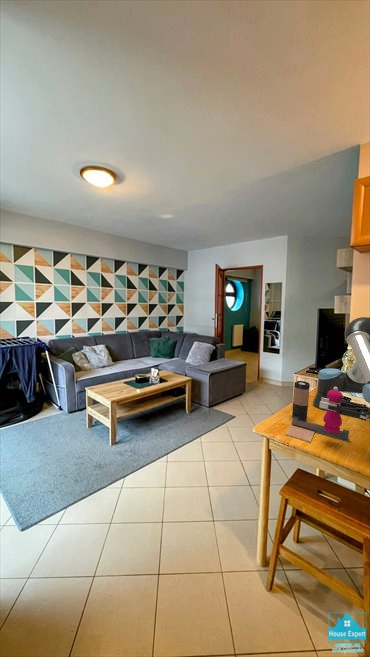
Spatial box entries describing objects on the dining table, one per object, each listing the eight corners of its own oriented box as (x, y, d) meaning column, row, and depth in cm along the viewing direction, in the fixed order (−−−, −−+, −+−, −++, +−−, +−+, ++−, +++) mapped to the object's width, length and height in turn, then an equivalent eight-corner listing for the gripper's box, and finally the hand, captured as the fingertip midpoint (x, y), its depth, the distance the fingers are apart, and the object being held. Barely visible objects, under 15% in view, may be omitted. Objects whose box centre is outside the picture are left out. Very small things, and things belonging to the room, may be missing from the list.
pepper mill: (324, 424, 120) (328, 383, 118) (342, 429, 115) (346, 386, 113) (321, 430, 114) (324, 386, 112) (339, 435, 110) (344, 390, 108)
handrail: (348, 439, 119) (349, 430, 119) (347, 441, 117) (348, 432, 117) (292, 424, 133) (293, 415, 133) (291, 425, 131) (292, 417, 131)
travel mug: (308, 422, 136) (311, 385, 134) (293, 420, 137) (296, 384, 135) (304, 416, 143) (307, 381, 141) (290, 414, 145) (293, 380, 143)
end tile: (314, 433, 124) (314, 431, 124) (310, 442, 116) (310, 441, 115) (290, 426, 131) (290, 425, 131) (285, 434, 122) (285, 433, 122)
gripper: (385, 434, 97) (317, 417, 110) (382, 417, 111) (322, 404, 125) (387, 415, 96) (318, 400, 109) (384, 400, 111) (323, 389, 124)
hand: (320, 402), depth 117 cm, fingers closed on pepper mill, 5 cm apart
